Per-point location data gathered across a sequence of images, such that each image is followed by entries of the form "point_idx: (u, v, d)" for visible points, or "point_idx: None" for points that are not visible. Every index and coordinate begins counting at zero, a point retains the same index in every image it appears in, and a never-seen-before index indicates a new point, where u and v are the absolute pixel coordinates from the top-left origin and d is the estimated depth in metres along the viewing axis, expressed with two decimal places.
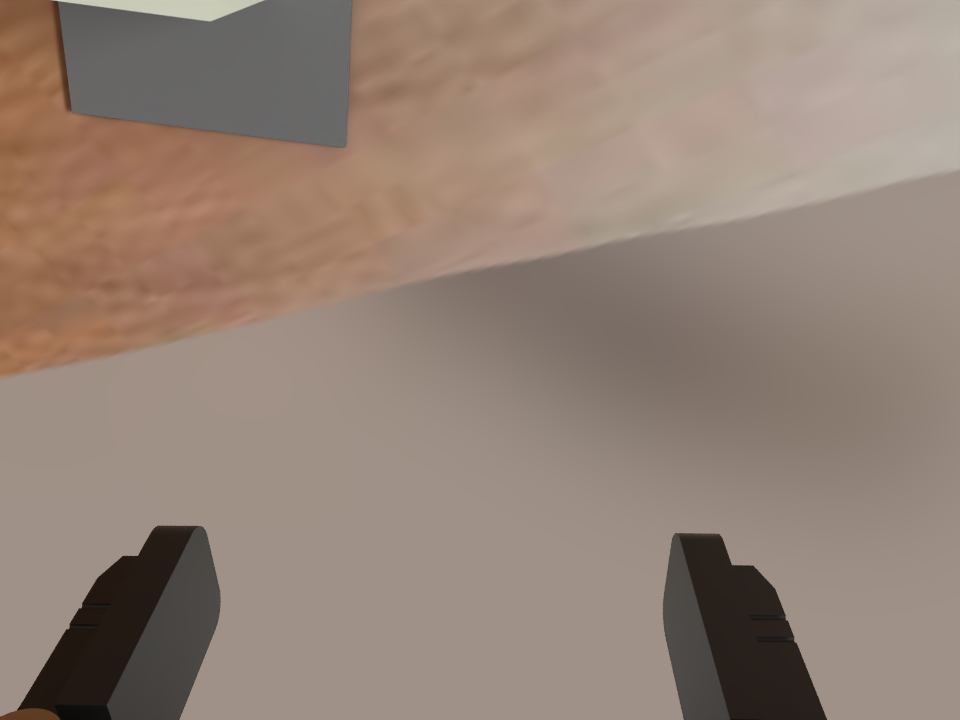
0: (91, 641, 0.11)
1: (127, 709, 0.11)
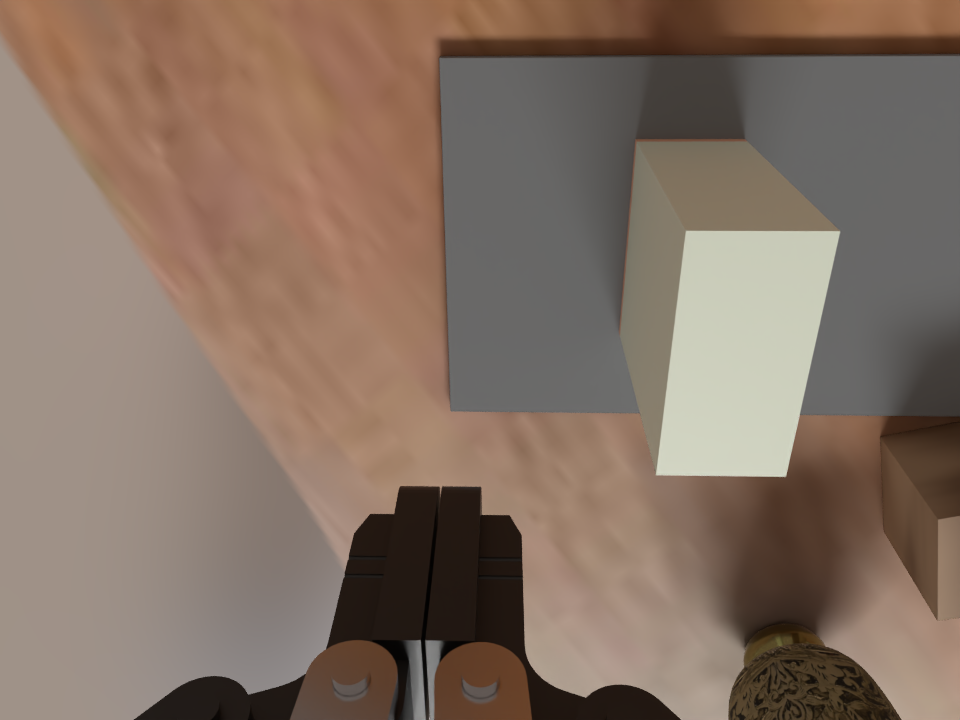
0: (382, 586, 0.12)
1: (424, 647, 0.12)
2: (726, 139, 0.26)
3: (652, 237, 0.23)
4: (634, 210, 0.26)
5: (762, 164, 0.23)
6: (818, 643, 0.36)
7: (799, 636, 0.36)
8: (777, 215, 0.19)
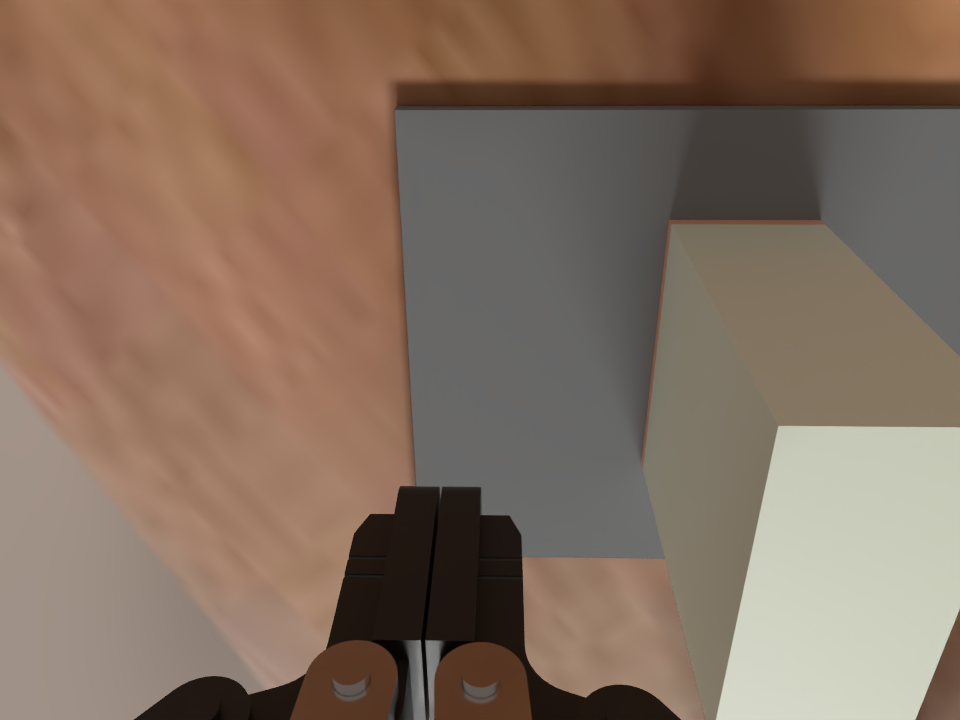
0: (382, 586, 0.12)
1: (424, 647, 0.12)
2: (795, 220, 0.19)
3: (702, 380, 0.15)
4: (667, 318, 0.19)
5: (860, 271, 0.16)
6: None
7: None
8: (916, 386, 0.12)
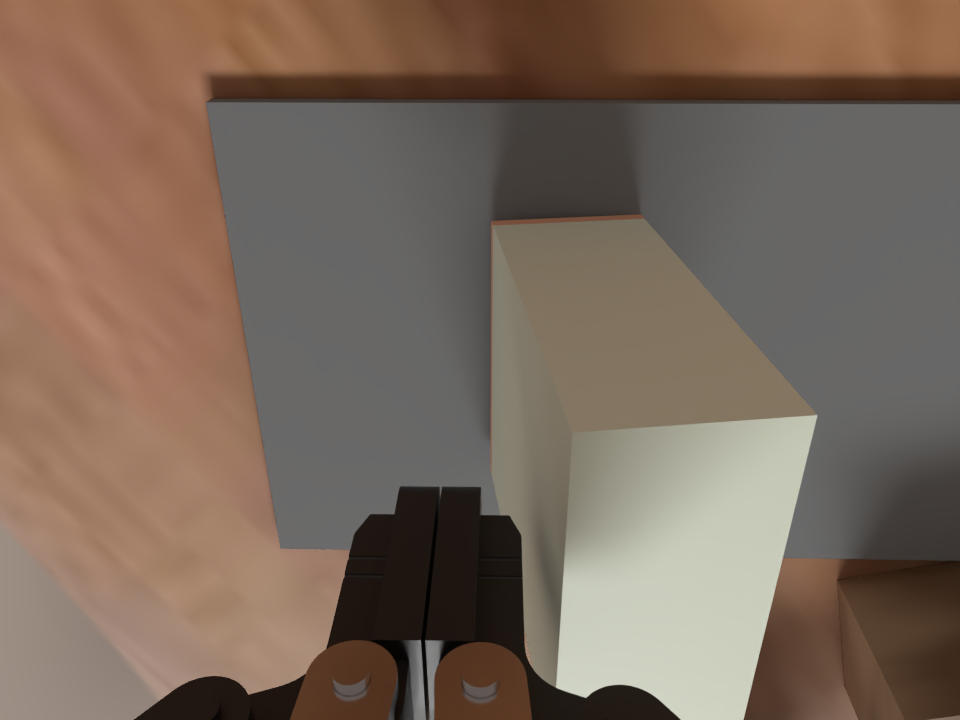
0: (382, 586, 0.12)
1: (424, 647, 0.12)
2: (616, 216, 0.18)
3: (522, 385, 0.15)
4: (496, 321, 0.18)
5: (672, 264, 0.16)
6: None
7: None
8: (713, 380, 0.12)
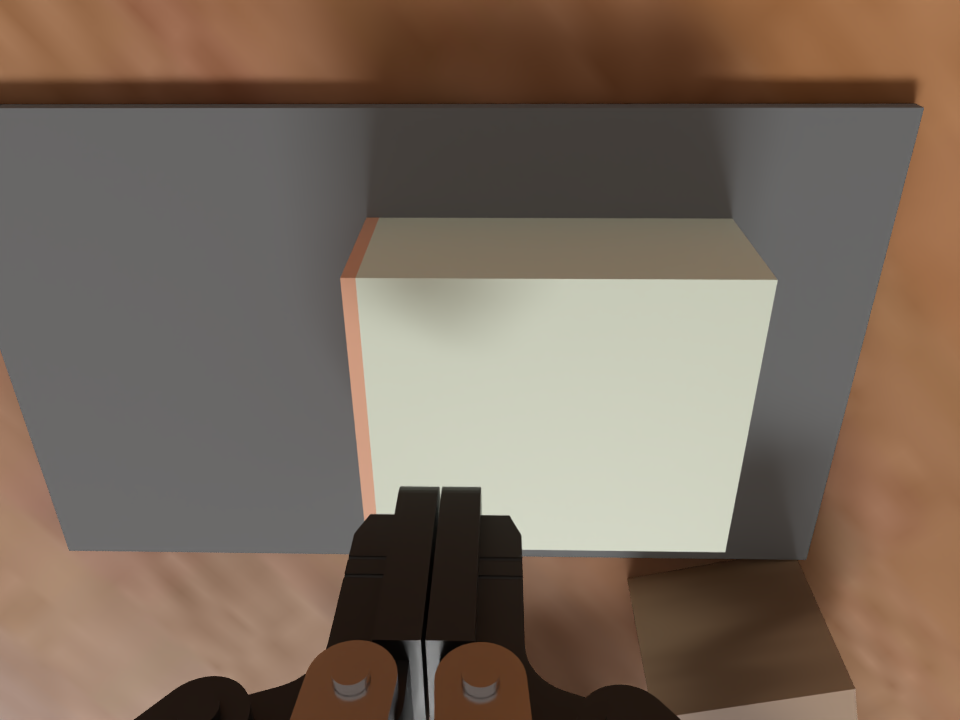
0: (382, 586, 0.12)
1: (424, 647, 0.12)
2: (364, 226, 0.18)
3: (567, 352, 0.16)
4: (400, 367, 0.17)
5: (494, 221, 0.18)
6: None
7: None
8: (695, 235, 0.18)
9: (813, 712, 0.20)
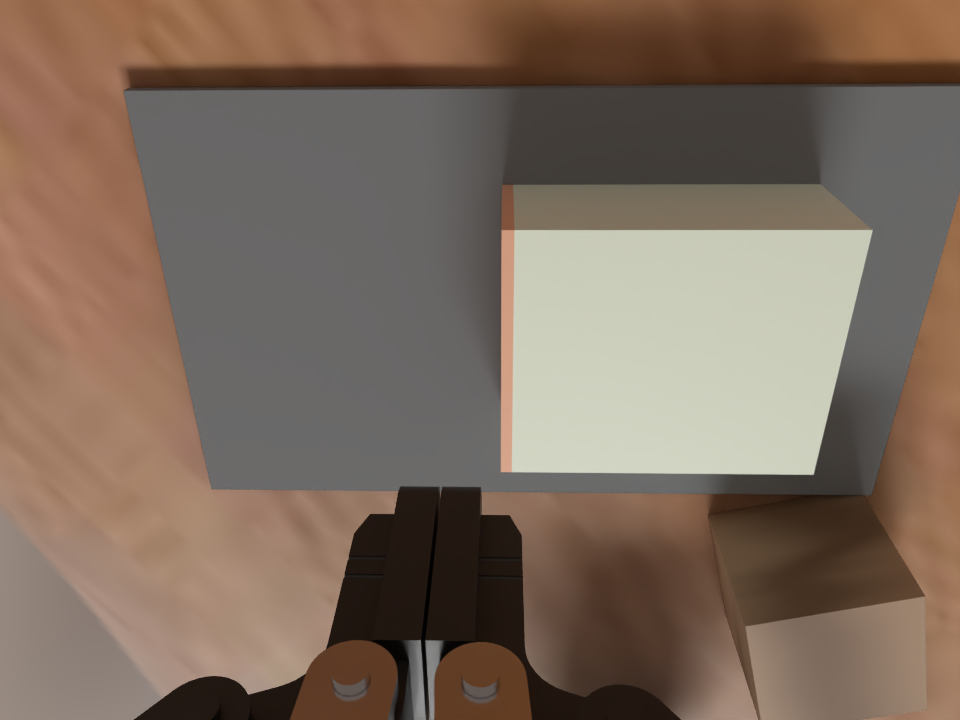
0: (382, 586, 0.12)
1: (424, 647, 0.12)
2: (504, 191, 0.21)
3: (689, 295, 0.19)
4: (545, 308, 0.20)
5: (614, 187, 0.21)
6: None
7: None
8: (792, 197, 0.20)
9: (887, 619, 0.23)
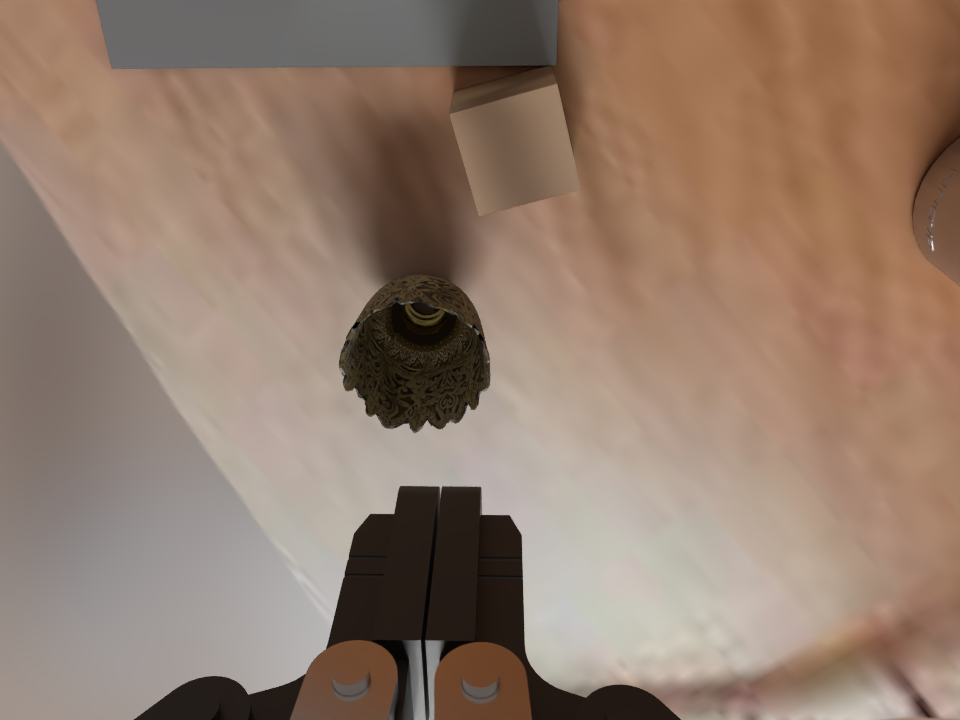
0: (382, 586, 0.12)
1: (424, 647, 0.12)
2: None
3: None
4: None
5: None
6: None
7: None
8: None
9: (537, 105, 0.36)
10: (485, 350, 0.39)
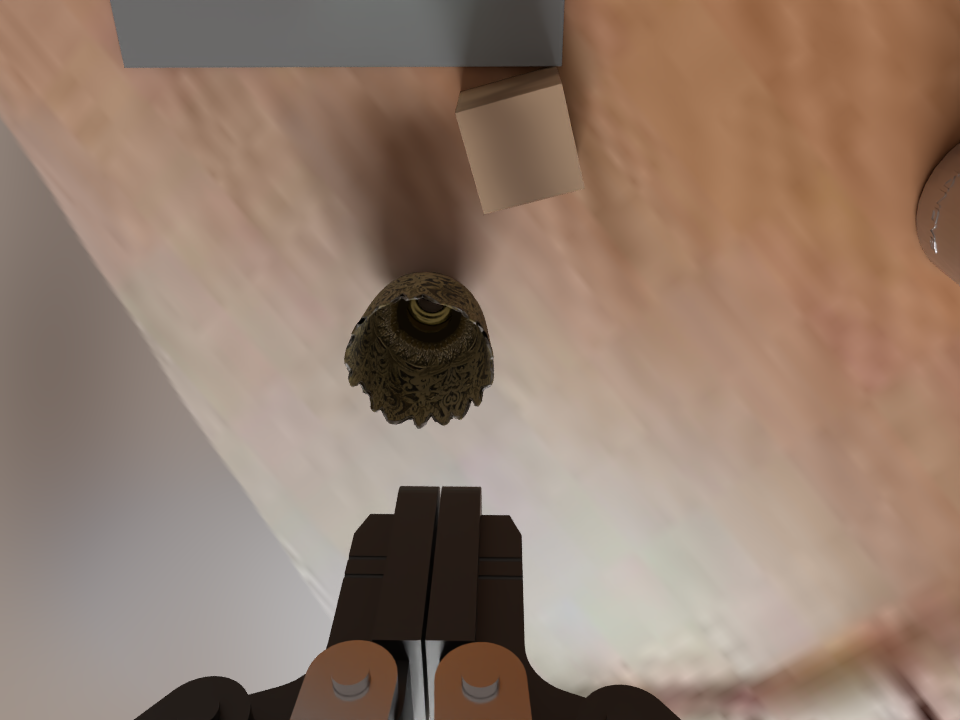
0: (382, 586, 0.12)
1: (424, 647, 0.12)
2: None
3: None
4: None
5: None
6: None
7: None
8: None
9: (542, 104, 0.36)
10: (489, 347, 0.39)
